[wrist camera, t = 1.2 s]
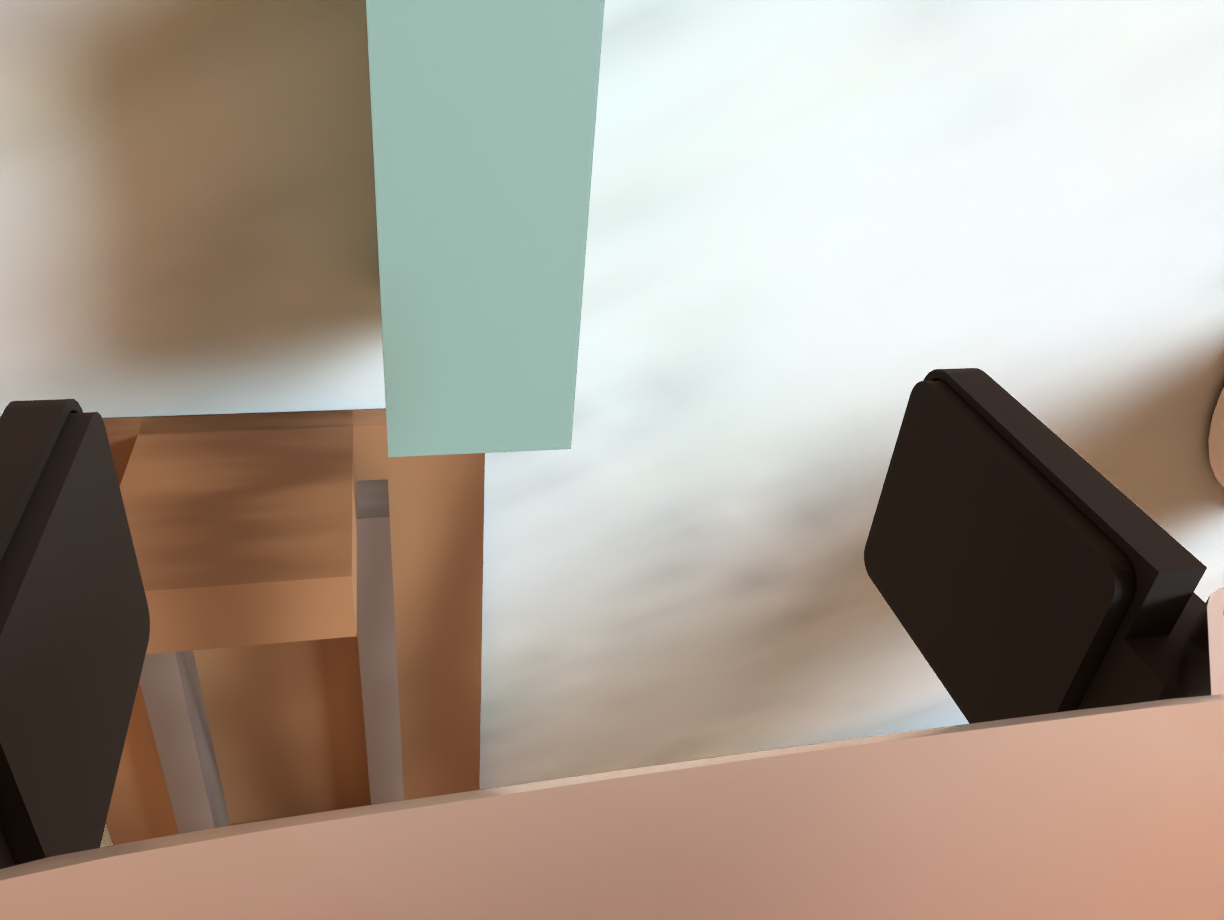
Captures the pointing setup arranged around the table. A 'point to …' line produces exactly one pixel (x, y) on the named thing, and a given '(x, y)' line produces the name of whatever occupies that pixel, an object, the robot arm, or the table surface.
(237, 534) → the brown wooden holder
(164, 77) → the table surface
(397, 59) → the door panel
